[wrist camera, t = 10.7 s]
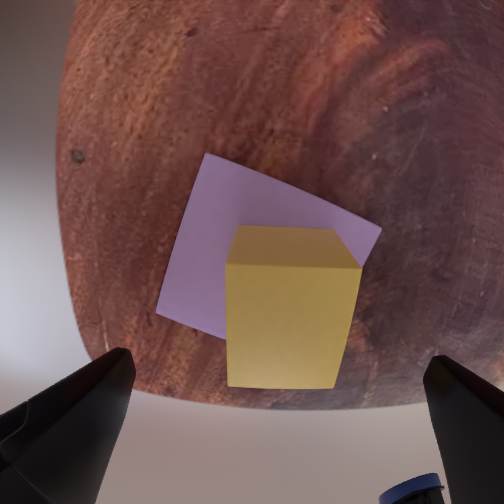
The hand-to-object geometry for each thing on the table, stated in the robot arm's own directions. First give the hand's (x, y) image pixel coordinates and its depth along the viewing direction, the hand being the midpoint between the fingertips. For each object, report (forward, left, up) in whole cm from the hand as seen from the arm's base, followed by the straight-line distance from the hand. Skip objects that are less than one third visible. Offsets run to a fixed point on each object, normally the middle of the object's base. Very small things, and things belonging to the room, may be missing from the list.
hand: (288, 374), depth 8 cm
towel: (0, +1, -6) cm, 6 cm away
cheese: (0, 0, -6) cm, 6 cm away
